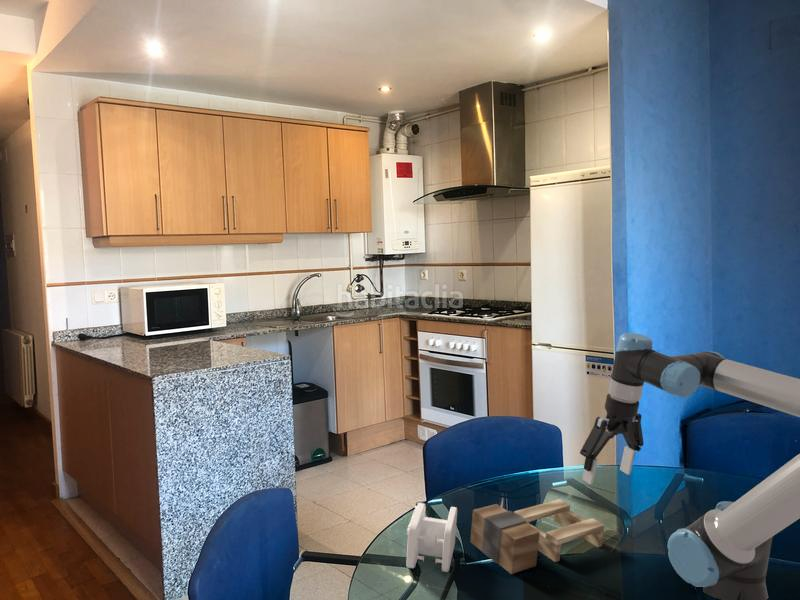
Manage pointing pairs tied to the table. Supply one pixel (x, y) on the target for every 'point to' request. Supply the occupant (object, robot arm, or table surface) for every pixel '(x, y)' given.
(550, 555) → the wooden bar frame
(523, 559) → the wooden block with band
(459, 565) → the table surface
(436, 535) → the cable organizer
